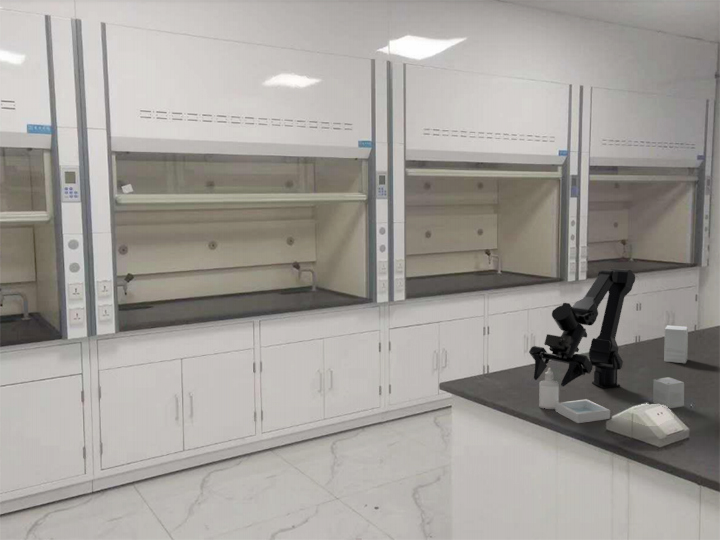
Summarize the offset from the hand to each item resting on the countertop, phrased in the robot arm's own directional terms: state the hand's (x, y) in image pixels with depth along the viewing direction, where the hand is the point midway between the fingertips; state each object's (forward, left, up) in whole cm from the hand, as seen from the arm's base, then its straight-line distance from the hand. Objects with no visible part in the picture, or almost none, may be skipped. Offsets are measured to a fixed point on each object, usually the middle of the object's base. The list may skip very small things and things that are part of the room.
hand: (548, 382), depth 187 cm
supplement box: (-74, -30, -8) cm, 81 cm away
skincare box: (-34, +10, -8) cm, 37 cm away
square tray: (-5, +9, -8) cm, 13 cm away
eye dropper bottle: (0, 0, -8) cm, 8 cm away
